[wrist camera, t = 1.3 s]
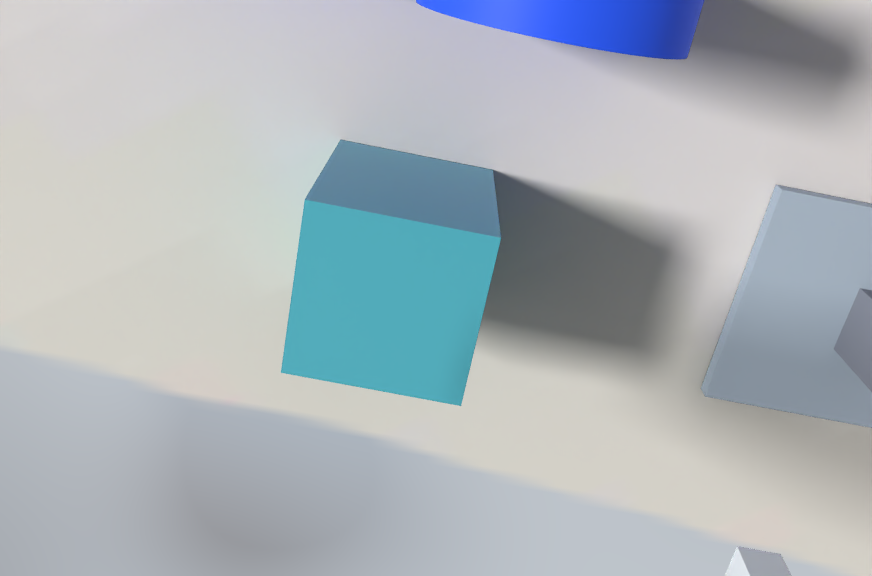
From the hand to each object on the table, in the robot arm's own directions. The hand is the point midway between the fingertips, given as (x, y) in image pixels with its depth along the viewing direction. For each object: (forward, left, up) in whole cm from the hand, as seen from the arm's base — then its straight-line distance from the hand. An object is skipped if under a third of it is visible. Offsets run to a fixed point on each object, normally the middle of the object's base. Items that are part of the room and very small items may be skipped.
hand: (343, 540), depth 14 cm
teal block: (0, 0, -16) cm, 16 cm away
